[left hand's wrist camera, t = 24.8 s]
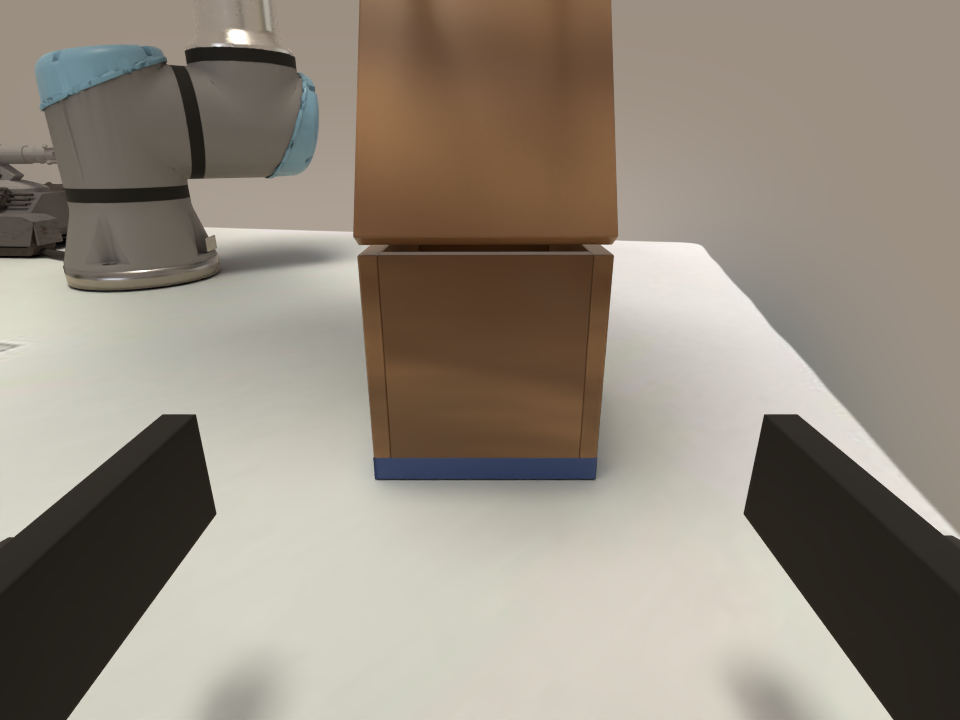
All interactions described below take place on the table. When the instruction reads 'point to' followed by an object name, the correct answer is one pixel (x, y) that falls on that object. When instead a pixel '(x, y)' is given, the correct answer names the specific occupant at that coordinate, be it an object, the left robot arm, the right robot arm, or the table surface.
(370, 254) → the chest
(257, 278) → the table surface
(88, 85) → the right robot arm
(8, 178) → the toy
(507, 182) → the lid
